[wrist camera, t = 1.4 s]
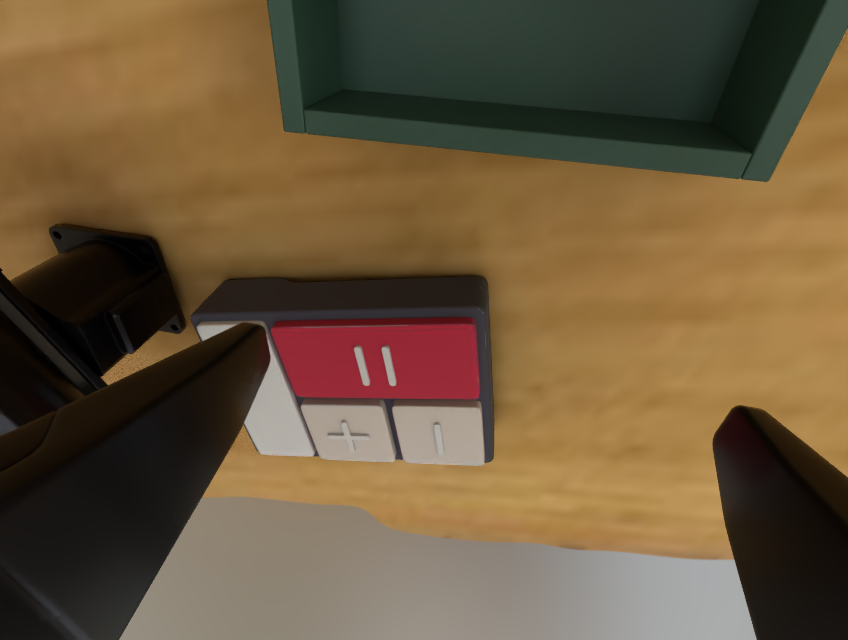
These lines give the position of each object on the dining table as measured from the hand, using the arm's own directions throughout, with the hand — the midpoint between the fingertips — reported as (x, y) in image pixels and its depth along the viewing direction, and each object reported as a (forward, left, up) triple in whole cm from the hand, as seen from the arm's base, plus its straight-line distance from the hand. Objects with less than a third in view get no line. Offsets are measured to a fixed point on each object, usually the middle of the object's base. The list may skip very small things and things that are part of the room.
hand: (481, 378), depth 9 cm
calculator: (-7, -12, -13) cm, 19 cm away
